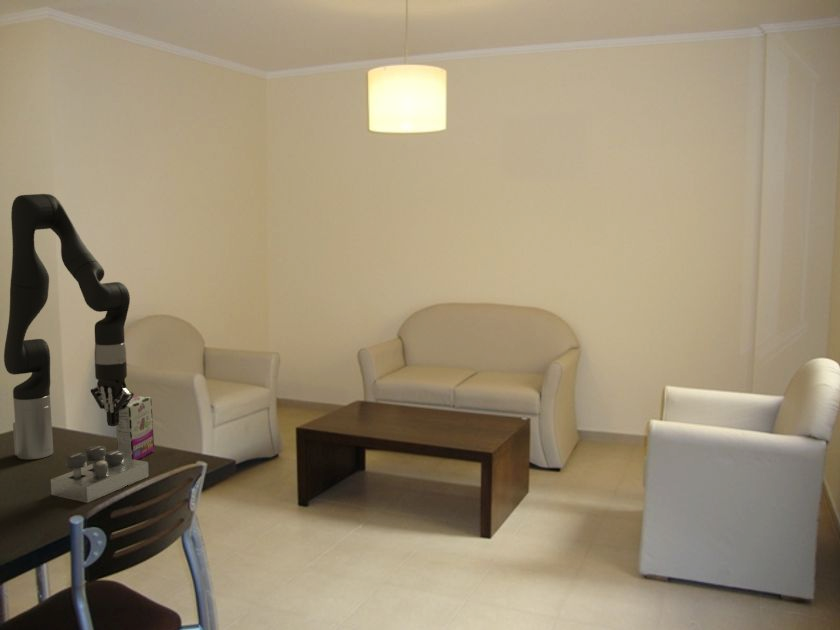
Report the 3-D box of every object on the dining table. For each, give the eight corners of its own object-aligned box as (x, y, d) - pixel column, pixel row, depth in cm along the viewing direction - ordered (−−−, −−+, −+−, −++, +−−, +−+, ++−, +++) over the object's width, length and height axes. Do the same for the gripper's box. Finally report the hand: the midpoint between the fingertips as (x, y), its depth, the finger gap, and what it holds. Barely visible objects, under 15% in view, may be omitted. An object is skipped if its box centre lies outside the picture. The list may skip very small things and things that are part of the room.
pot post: (92, 477, 186) (92, 463, 186) (102, 473, 189) (101, 459, 188) (101, 478, 185) (101, 465, 185) (111, 475, 188) (110, 461, 187)
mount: (51, 494, 185) (50, 479, 184) (114, 470, 203) (113, 455, 203) (87, 502, 180) (86, 486, 180) (148, 476, 198) (148, 461, 198)
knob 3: (101, 476, 196) (100, 454, 196) (115, 471, 201) (114, 448, 200) (115, 479, 194) (114, 456, 194) (129, 473, 199) (128, 451, 198)
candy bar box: (139, 450, 220) (137, 395, 218) (154, 451, 219) (152, 396, 217) (116, 462, 209) (114, 405, 207) (133, 463, 208) (130, 406, 206)
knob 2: (82, 472, 191) (80, 449, 190) (97, 467, 195) (96, 444, 194) (96, 475, 189) (95, 452, 188) (111, 469, 193) (110, 446, 192)
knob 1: (62, 480, 185) (61, 456, 184) (78, 474, 189) (77, 450, 189) (76, 483, 183) (75, 459, 182) (92, 477, 188) (91, 453, 187)
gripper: (79, 360, 193) (82, 425, 195) (119, 365, 188) (121, 432, 190) (102, 355, 200) (105, 418, 202) (141, 360, 194) (143, 425, 197)
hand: (113, 425), depth 196 cm, fingers closed
